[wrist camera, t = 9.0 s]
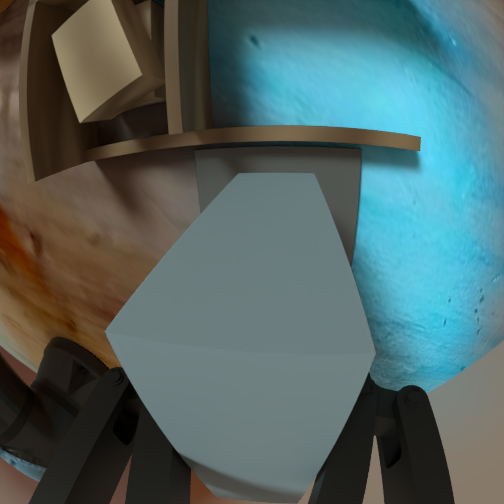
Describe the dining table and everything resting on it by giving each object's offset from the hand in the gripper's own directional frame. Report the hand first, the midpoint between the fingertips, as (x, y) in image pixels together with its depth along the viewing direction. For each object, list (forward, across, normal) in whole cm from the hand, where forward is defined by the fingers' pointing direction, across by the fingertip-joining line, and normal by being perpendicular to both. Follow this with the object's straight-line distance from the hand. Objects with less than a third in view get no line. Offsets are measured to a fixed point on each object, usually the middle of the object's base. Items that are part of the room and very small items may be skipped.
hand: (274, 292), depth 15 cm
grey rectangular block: (+2, 0, 0) cm, 2 cm away
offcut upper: (+4, -10, +15) cm, 19 cm away
